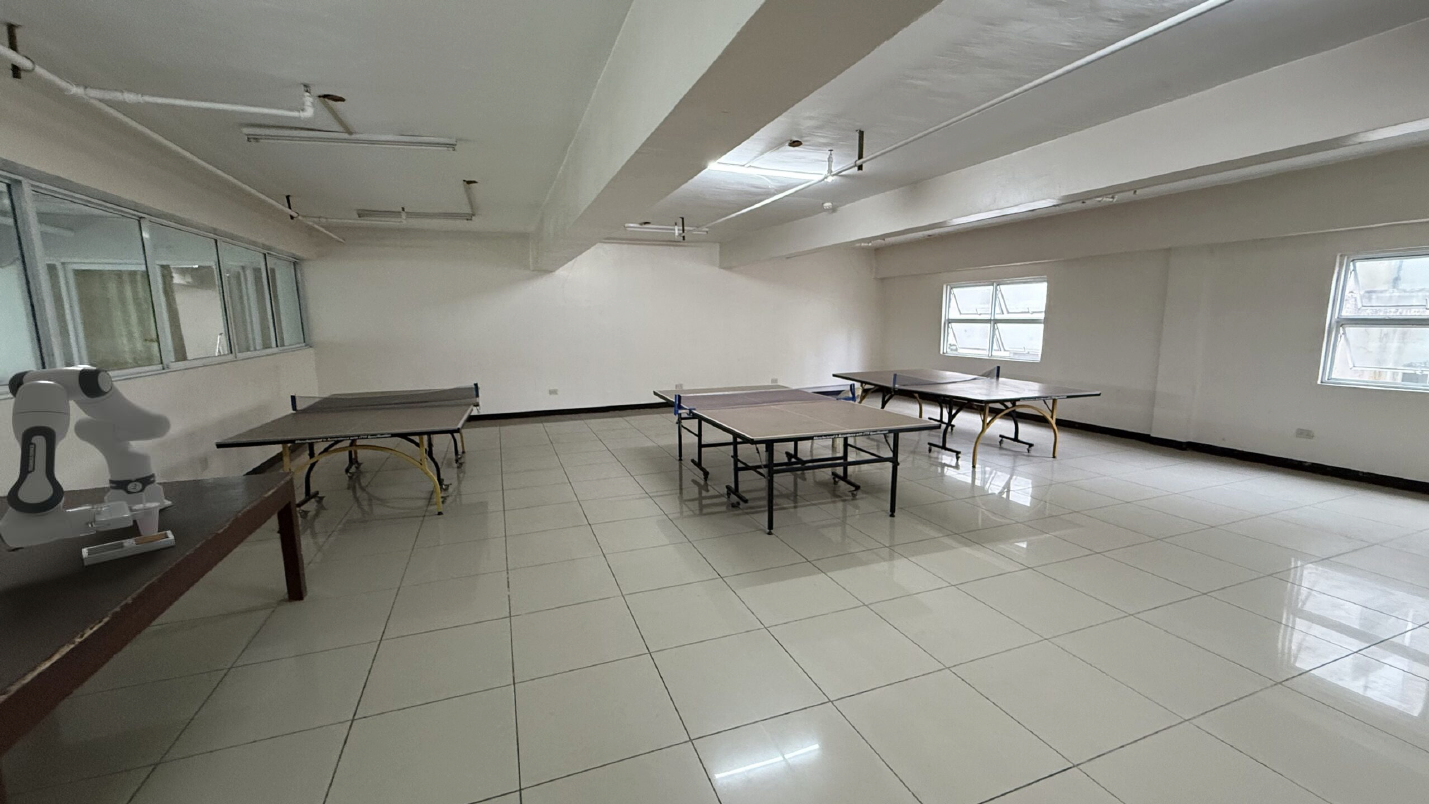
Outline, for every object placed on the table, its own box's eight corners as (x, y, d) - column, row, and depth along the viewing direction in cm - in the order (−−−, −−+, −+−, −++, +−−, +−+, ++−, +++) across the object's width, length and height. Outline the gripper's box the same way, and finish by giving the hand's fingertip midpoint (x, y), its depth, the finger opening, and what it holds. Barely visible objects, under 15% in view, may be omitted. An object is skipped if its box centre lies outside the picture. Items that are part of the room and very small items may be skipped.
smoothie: (129, 537, 170) (124, 496, 168) (144, 530, 176) (139, 490, 174) (154, 536, 172) (149, 495, 170) (168, 528, 178) (163, 489, 176)
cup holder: (83, 556, 166) (81, 548, 166) (171, 537, 182) (170, 530, 181) (84, 565, 160) (83, 558, 160) (175, 545, 176) (174, 538, 175)
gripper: (85, 519, 156) (152, 507, 167) (82, 503, 168) (145, 493, 179) (88, 539, 157) (155, 526, 167) (85, 522, 169) (148, 510, 180)
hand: (150, 508), depth 173 cm, fingers closed on smoothie, 6 cm apart
